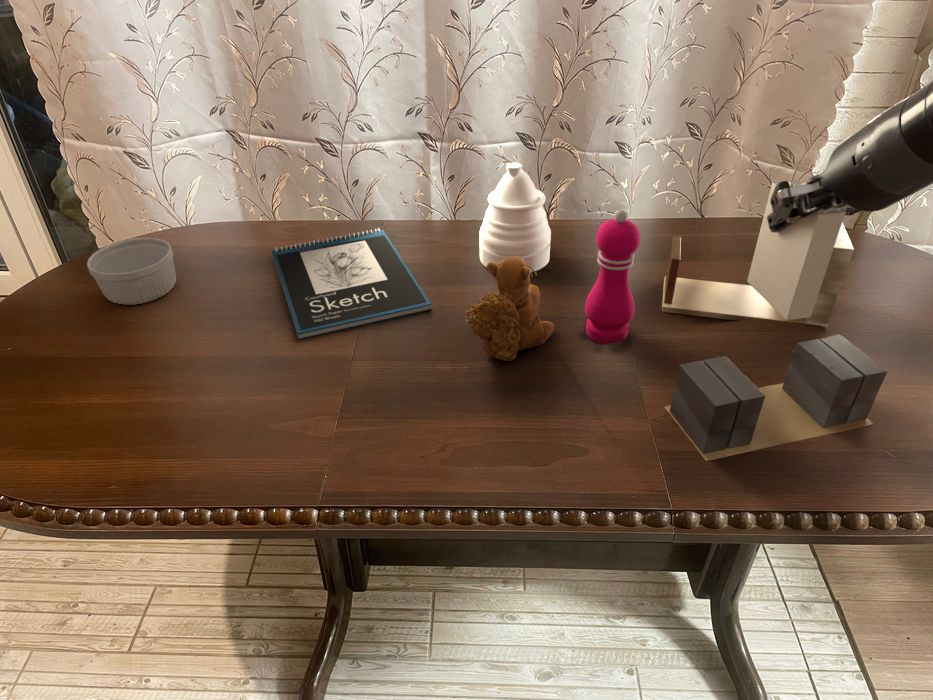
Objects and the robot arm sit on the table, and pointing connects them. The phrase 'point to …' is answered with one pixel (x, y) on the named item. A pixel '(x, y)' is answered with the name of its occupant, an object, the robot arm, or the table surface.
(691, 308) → the white rack
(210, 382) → the table surface
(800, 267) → the white book
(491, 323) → the stuffed squirrel
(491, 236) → the honey pot
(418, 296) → the sketchbook
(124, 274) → the ramekin
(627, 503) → the table surface
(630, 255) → the pepper mill
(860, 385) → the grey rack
